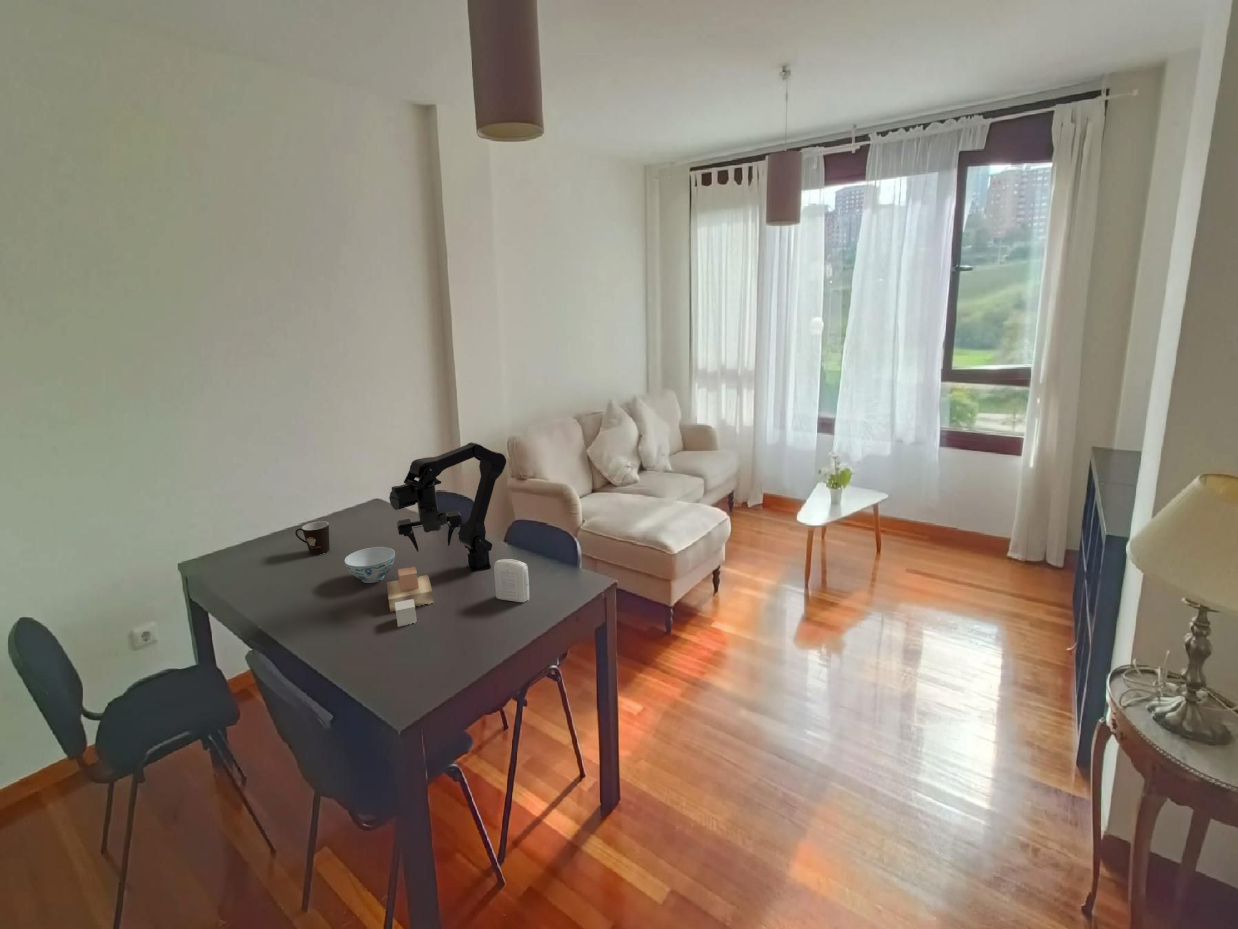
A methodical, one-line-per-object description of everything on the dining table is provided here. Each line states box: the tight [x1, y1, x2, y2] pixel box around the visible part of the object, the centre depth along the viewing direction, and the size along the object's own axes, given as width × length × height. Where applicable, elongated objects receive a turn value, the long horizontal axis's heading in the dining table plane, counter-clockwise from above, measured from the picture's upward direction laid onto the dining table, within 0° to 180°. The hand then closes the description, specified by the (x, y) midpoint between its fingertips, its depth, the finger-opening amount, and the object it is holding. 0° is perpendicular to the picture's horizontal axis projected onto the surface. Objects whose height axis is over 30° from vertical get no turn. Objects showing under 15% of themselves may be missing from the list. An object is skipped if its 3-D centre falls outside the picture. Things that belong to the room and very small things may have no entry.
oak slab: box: [386, 574, 435, 613], centre depth 182 cm, size 12×12×4 cm
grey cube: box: [395, 599, 418, 628], centre depth 170 cm, size 5×5×5 cm
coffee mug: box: [294, 520, 330, 556], centre depth 219 cm, size 12×9×10 cm
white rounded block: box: [493, 558, 530, 603], centre depth 180 cm, size 10×4×12 cm, turn 73°
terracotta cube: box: [397, 566, 419, 592], centre depth 181 cm, size 5×5×5 cm
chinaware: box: [344, 546, 396, 584], centre depth 196 cm, size 15×15×8 cm
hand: (433, 548), depth 189 cm, fingers open, 9 cm apart
